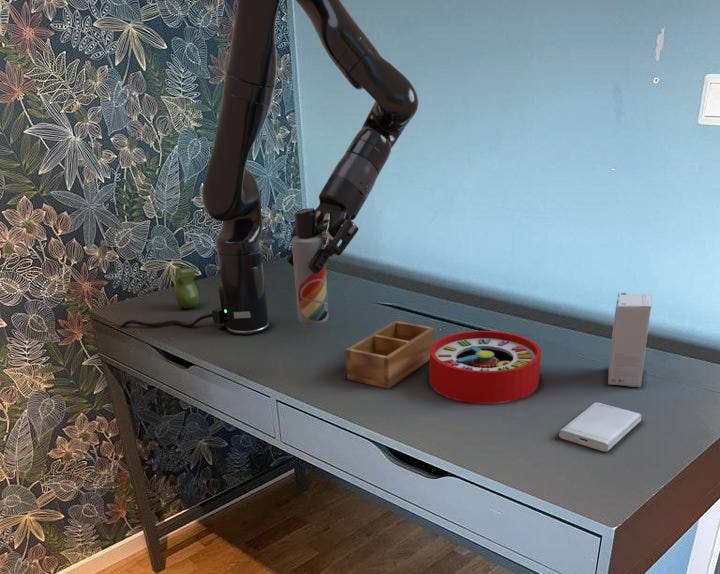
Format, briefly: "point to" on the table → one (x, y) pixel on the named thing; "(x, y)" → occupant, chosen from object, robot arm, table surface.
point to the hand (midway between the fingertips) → (302, 267)
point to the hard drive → (600, 426)
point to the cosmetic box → (629, 339)
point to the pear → (186, 288)
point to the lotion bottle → (308, 270)
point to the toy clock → (484, 366)
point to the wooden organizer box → (390, 354)
